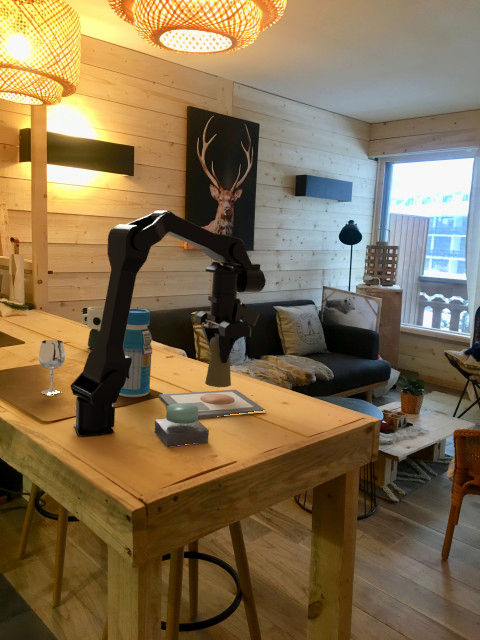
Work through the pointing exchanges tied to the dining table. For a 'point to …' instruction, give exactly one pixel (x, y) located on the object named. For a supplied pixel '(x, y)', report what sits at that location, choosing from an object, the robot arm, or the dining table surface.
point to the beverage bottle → (138, 354)
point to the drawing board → (213, 402)
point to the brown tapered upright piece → (217, 368)
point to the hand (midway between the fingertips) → (219, 360)
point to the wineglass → (51, 359)
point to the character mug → (93, 323)
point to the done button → (182, 413)
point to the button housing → (181, 432)
